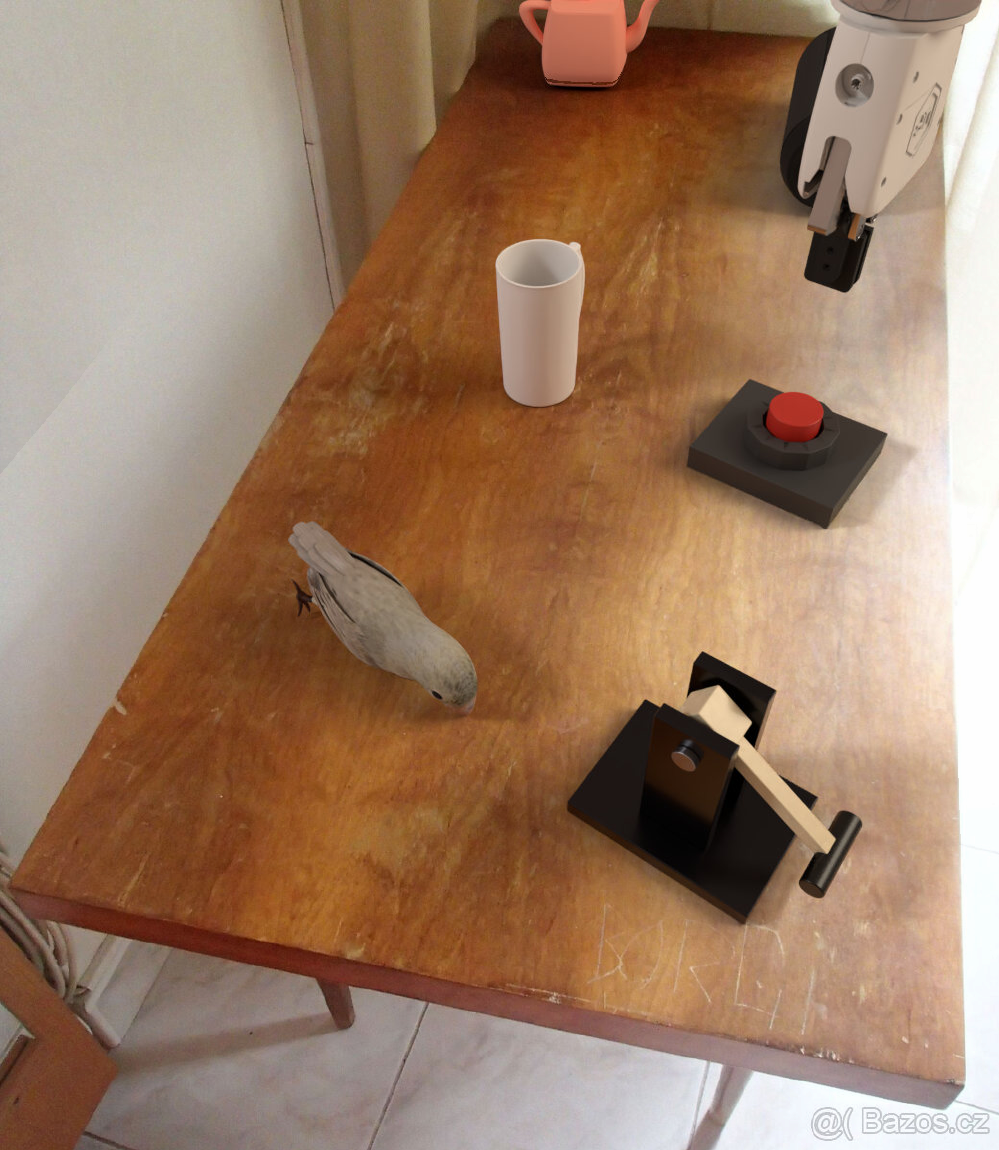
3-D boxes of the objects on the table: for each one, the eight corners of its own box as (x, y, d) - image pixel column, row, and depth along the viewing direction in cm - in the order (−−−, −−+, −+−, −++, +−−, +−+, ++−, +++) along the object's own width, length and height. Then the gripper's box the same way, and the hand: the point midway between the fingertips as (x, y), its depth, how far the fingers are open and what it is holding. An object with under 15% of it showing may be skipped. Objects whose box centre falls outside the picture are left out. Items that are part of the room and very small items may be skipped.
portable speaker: (868, 224, 100) (894, 127, 93) (769, 214, 102) (786, 118, 95) (876, 110, 116) (899, 19, 108) (790, 103, 118) (806, 12, 110)
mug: (549, 420, 83) (550, 297, 74) (485, 392, 86) (478, 270, 76) (612, 357, 88) (620, 235, 79) (549, 332, 91) (550, 212, 82)
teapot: (526, 52, 130) (525, -36, 122) (664, 56, 128) (672, -34, 120) (513, 91, 123) (511, 0, 115) (659, 96, 120) (668, 4, 112)
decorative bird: (444, 745, 63) (434, 679, 57) (285, 615, 71) (262, 545, 65) (501, 693, 66) (497, 624, 60) (341, 571, 73) (324, 500, 67)
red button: (827, 421, 76) (832, 403, 75) (804, 450, 74) (809, 433, 73) (780, 402, 78) (784, 384, 77) (756, 430, 76) (760, 413, 75)
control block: (880, 454, 79) (894, 415, 76) (826, 529, 74) (839, 491, 71) (745, 399, 84) (752, 360, 81) (686, 466, 79) (691, 428, 76)
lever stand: (814, 806, 60) (863, 699, 51) (744, 925, 55) (783, 832, 46) (643, 708, 64) (659, 594, 55) (566, 811, 60) (569, 705, 51)
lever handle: (842, 828, 56) (875, 826, 54) (803, 898, 53) (835, 899, 51) (703, 674, 54) (731, 665, 52) (656, 738, 52) (684, 732, 50)
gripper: (927, 43, 46) (835, 360, 60) (1032, -59, 53) (928, 245, 67) (779, 8, 49) (725, 318, 63) (898, -84, 56) (825, 212, 70)
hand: (830, 280), depth 65 cm, fingers closed
